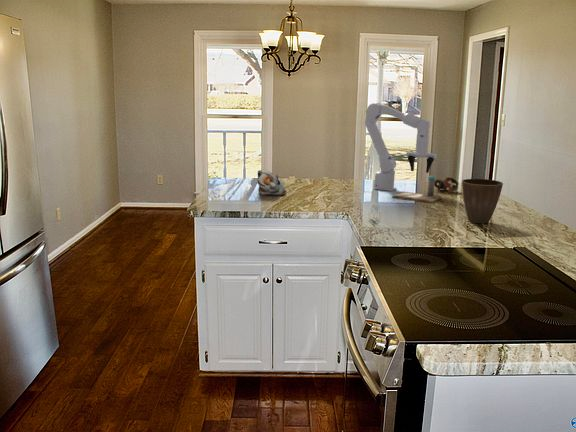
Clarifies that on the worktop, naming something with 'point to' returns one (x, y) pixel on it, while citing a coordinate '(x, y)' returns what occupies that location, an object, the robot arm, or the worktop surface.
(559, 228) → the worktop surface
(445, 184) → the reddish-brown lumpy part
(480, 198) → the plant pot
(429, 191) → the marker
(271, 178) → the grey piece
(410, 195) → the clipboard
